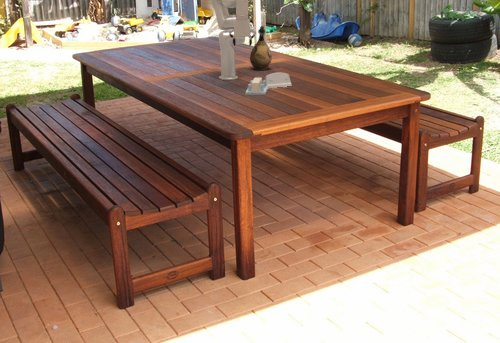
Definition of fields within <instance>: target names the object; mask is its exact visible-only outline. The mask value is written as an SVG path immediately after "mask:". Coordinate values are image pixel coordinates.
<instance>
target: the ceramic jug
mask: <svg viewBox="0 0 500 343" xmlns="http://www.w3.org/2000/svg"><path fill="white" fill-rule="evenodd" d="M257 32H258V34H259V35H258V36H259V37H258V40H257V41H256V43H255V44H254V45H253V48H252V49H251V52H250V56H249V62H250V64H251V66H252V67H253V70H254V71H266V70H267V69H268V67H269V66H270V65H271V63H272V58H273V56H272V52H271V49H270V47H269V45H268V44H267V42H266V41H265V36H264V35H265V32H266V30H265V26H264V25H260V27H259V29H258V31H257ZM265 69H266V70H265Z"/></svg>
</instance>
